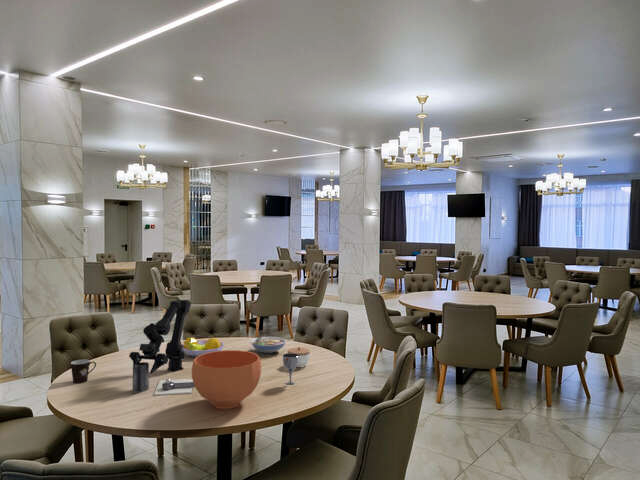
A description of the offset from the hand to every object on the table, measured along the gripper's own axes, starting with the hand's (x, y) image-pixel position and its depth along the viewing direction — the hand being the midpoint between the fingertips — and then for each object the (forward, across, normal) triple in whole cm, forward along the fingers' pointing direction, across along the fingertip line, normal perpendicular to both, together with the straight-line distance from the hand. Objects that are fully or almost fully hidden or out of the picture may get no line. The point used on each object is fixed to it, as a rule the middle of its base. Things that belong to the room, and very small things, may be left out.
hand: (141, 373), depth 221 cm
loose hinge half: (+7, 0, +4) cm, 8 cm away
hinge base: (+1, +15, +10) cm, 18 cm away
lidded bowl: (-33, +66, +44) cm, 86 cm away
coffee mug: (+2, -36, +9) cm, 37 cm away
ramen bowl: (-51, +40, +62) cm, 90 cm away
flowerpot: (+12, +47, -1) cm, 49 cm away
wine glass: (-10, +69, +21) cm, 73 cm away
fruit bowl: (-40, +1, +51) cm, 65 cm away
